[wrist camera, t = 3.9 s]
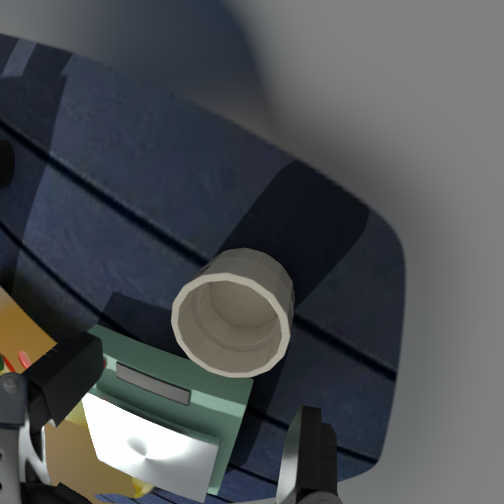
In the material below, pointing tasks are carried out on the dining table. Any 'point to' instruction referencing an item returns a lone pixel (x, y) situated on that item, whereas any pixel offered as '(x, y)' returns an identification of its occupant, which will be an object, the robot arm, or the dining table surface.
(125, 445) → the scale pan
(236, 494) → the dining table surface
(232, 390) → the scale
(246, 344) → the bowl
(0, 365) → the hardback book
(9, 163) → the drinking cup
